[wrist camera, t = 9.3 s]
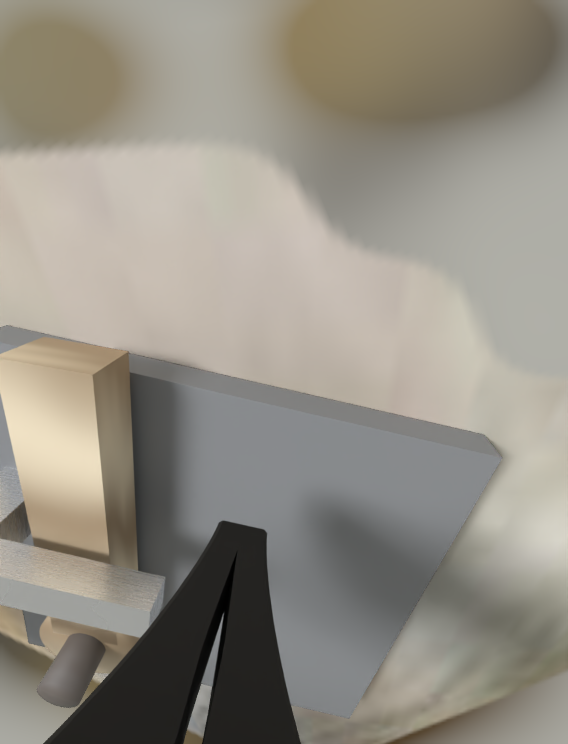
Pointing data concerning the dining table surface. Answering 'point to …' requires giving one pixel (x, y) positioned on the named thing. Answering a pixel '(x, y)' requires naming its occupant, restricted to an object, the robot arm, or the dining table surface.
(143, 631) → the keeper
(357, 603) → the board
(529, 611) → the dining table surface
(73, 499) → the link
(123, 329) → the dining table surface
